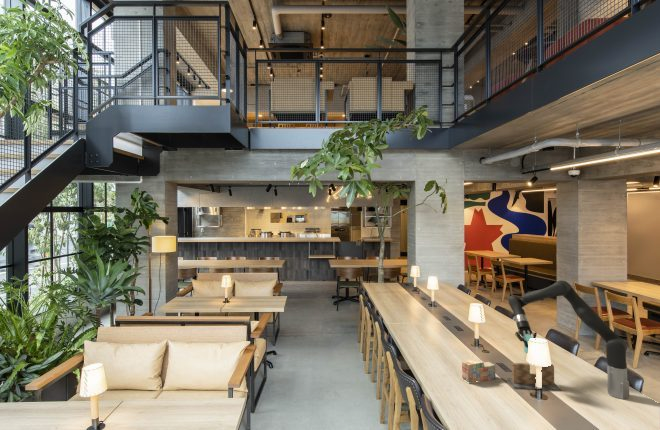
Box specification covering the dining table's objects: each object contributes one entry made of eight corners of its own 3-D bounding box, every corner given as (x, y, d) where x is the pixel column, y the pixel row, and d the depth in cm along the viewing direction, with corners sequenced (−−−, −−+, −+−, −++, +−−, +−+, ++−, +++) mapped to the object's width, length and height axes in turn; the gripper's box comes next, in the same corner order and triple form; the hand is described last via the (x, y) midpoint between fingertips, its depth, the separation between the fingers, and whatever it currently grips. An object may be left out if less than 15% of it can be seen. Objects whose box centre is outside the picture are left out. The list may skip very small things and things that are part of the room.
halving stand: (551, 382, 235) (551, 361, 235) (560, 390, 223) (560, 369, 223) (507, 380, 239) (507, 359, 239) (514, 388, 227) (513, 367, 227)
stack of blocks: (489, 375, 246) (488, 357, 246) (495, 379, 240) (495, 360, 240) (462, 379, 240) (461, 361, 240) (468, 383, 234) (468, 364, 234)
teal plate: (524, 351, 241) (524, 333, 241) (528, 351, 241) (527, 333, 241) (537, 363, 221) (536, 343, 221) (541, 363, 221) (541, 344, 221)
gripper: (512, 319, 245) (520, 344, 233) (534, 320, 244) (543, 345, 231) (510, 325, 251) (517, 349, 238) (531, 325, 249) (539, 350, 237)
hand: (529, 347), depth 235 cm, fingers closed on teal plate, 2 cm apart
